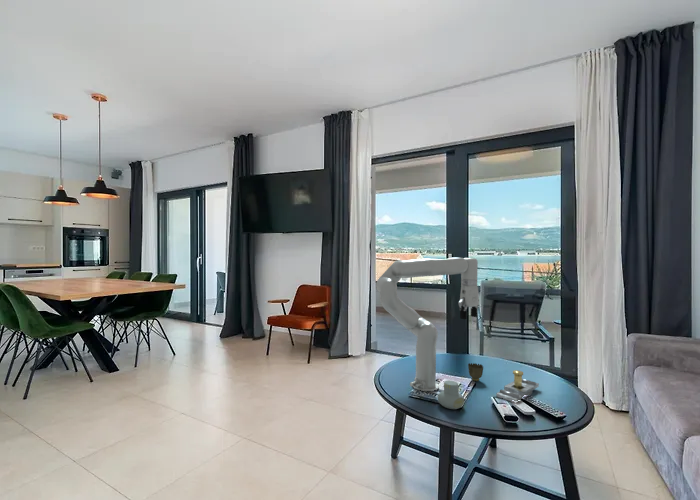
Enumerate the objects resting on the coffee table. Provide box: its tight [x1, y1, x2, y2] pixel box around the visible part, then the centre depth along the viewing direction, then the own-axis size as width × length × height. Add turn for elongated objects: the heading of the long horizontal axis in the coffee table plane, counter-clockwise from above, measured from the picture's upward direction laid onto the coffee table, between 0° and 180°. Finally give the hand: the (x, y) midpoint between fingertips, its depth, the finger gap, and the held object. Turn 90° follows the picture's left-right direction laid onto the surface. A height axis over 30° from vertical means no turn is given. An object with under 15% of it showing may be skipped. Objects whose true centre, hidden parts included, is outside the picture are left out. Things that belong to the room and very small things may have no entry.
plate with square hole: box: [495, 378, 540, 402], centre depth 164 cm, size 24×9×4 cm, turn 131°
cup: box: [467, 362, 484, 382], centre depth 179 cm, size 8×7×8 cm
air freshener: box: [437, 380, 465, 410], centre depth 149 cm, size 11×8×10 cm
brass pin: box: [512, 369, 524, 389], centre depth 163 cm, size 4×4×10 cm
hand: (468, 317), depth 172 cm, fingers open, 9 cm apart
